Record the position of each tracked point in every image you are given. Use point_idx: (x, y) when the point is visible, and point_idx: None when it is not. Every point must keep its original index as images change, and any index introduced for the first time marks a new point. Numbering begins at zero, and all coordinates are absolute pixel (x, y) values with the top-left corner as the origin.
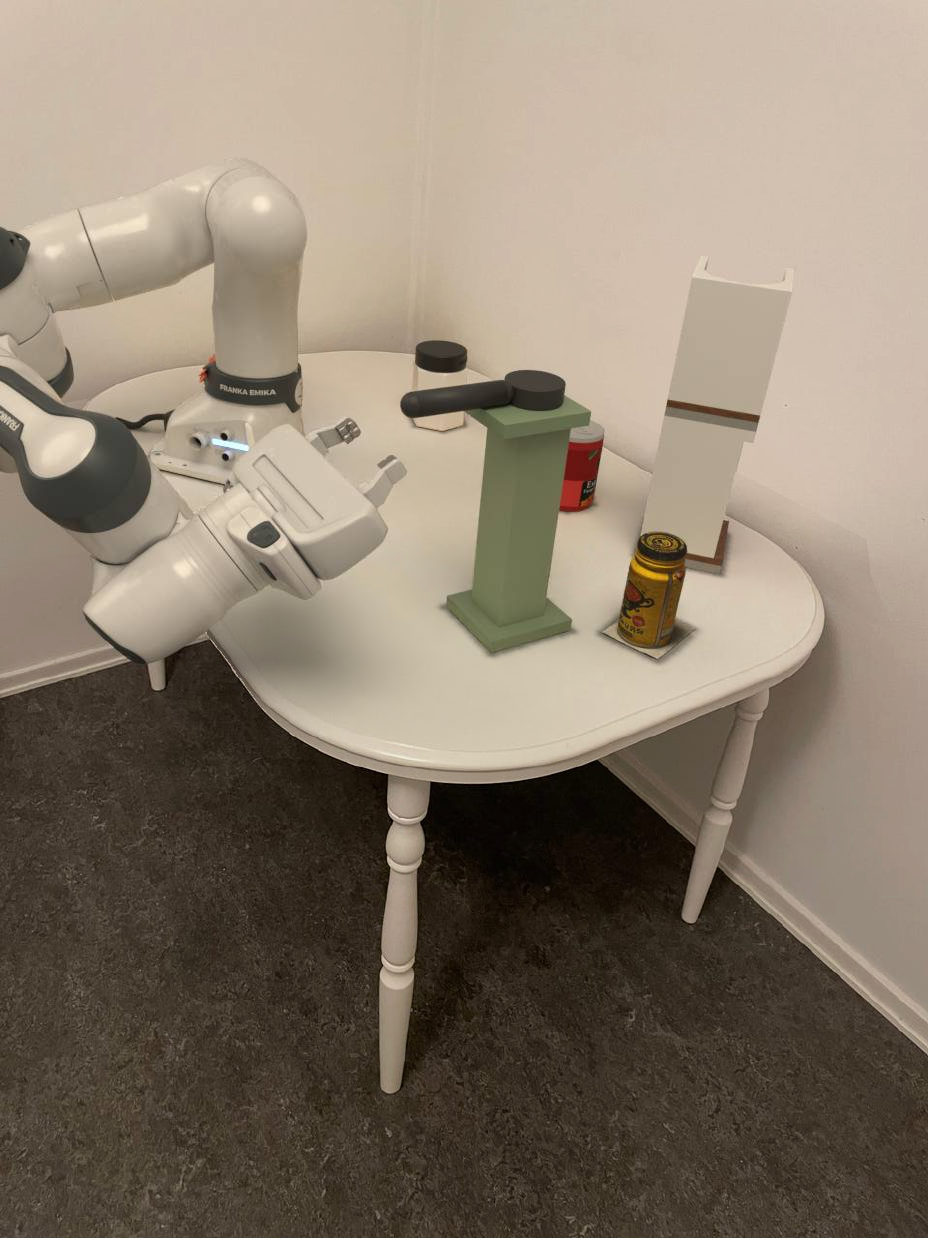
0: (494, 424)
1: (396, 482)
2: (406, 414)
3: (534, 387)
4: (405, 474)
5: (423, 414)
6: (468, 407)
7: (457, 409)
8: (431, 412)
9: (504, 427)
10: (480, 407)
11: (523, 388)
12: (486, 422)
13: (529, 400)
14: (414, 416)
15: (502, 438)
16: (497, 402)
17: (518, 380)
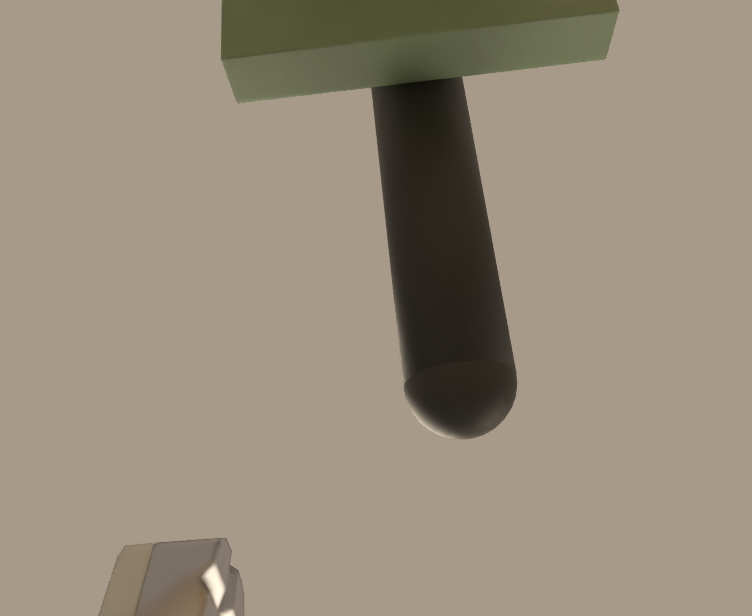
0: (303, 76)
1: (100, 613)
2: (443, 416)
3: None
4: (121, 552)
5: (405, 354)
6: (386, 168)
7: (391, 208)
8: (400, 321)
9: (235, 96)
10: (387, 114)
11: None
12: (361, 57)
13: None
14: (417, 389)
15: (230, 58)
16: None
17: None
